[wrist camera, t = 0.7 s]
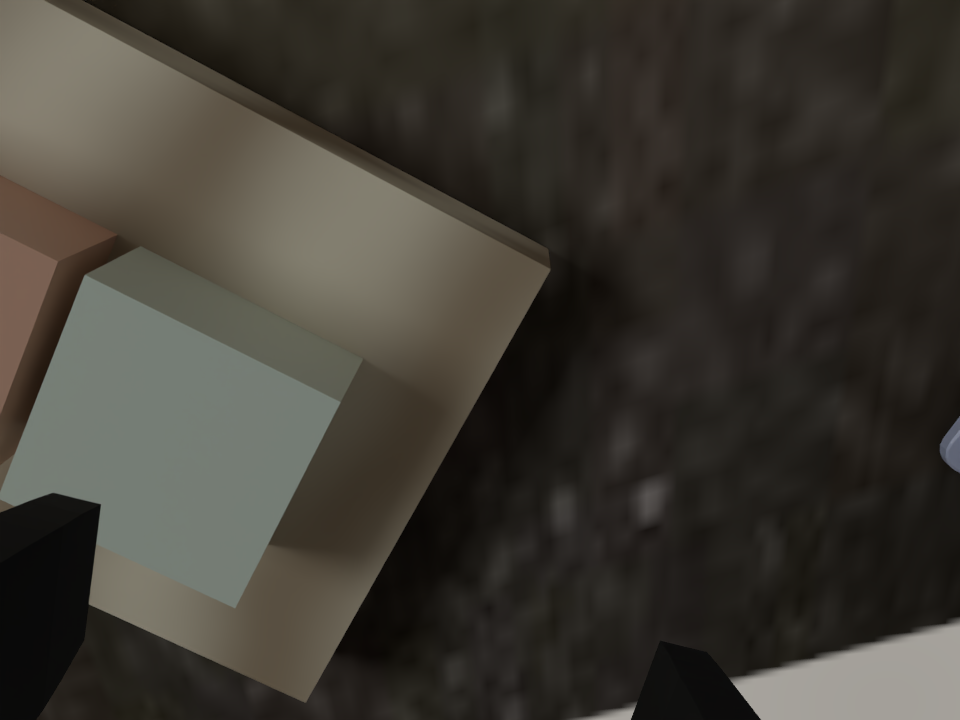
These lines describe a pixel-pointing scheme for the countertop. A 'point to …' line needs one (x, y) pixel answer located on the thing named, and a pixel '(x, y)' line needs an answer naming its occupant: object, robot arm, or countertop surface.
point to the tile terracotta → (37, 294)
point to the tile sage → (179, 420)
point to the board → (271, 302)
